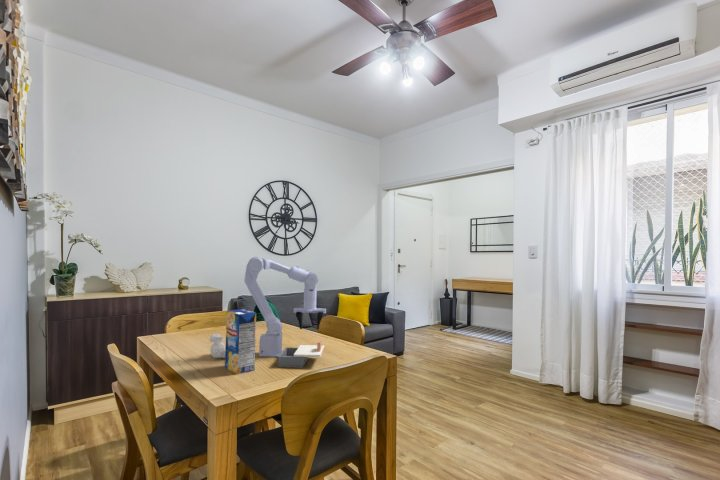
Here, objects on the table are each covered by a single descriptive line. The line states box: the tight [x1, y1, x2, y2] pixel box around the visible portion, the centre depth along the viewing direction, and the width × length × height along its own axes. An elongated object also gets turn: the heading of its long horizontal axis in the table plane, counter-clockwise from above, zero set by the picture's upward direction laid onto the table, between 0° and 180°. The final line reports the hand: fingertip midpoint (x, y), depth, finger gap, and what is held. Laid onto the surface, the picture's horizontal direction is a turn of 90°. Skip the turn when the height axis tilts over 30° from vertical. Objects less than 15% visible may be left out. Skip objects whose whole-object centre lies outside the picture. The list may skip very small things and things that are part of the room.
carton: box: [277, 346, 309, 369], centre depth 149 cm, size 10×14×4 cm
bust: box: [209, 333, 226, 359], centre depth 153 cm, size 12×8×11 cm
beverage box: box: [224, 308, 257, 375], centre depth 139 cm, size 7×11×22 cm, turn 44°
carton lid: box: [294, 339, 325, 358], centre depth 149 cm, size 10×14×4 cm
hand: (309, 328), depth 164 cm, fingers open, 7 cm apart
